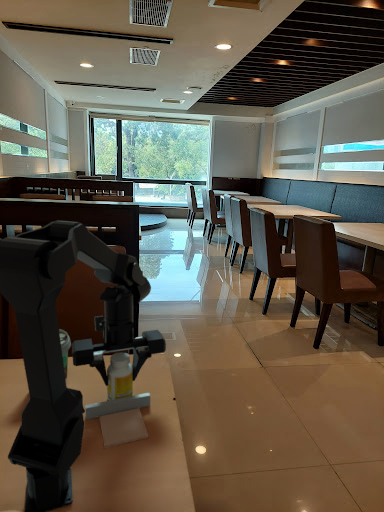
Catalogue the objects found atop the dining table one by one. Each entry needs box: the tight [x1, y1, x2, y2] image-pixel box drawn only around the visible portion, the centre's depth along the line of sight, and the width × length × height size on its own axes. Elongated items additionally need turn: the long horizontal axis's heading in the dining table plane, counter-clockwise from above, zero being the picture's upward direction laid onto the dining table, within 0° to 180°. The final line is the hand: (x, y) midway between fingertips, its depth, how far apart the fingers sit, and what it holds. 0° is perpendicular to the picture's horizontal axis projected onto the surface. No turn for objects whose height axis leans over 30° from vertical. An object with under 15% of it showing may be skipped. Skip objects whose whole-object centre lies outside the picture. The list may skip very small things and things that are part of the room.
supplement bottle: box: [106, 351, 134, 401], centre depth 73 cm, size 5×5×10 cm
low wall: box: [84, 392, 151, 420], centre depth 70 cm, size 1×13×2 cm, turn 111°
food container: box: [59, 328, 72, 379], centre depth 79 cm, size 12×6×10 cm, turn 164°
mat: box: [99, 408, 149, 449], centre depth 66 cm, size 8×8×1 cm
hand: (120, 382), depth 74 cm, fingers closed on supplement bottle, 5 cm apart
